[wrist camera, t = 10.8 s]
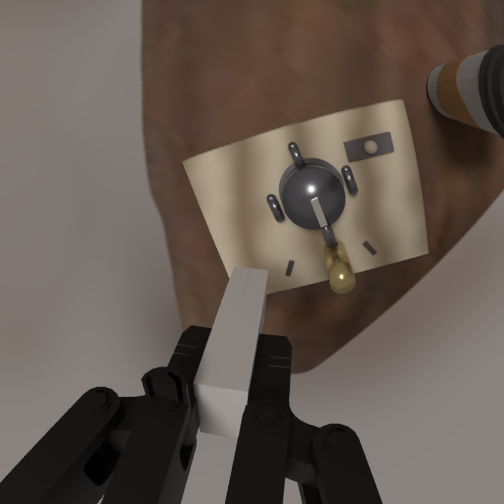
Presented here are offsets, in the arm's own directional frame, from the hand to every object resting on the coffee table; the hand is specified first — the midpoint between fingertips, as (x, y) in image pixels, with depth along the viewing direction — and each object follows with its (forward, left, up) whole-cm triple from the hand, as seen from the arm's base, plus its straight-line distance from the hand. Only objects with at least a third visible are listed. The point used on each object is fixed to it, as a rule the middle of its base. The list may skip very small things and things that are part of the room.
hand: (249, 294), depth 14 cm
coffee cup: (-23, -5, -23) cm, 32 cm away
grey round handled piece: (-4, +3, -20) cm, 20 cm away
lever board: (-4, +4, -22) cm, 23 cm away
